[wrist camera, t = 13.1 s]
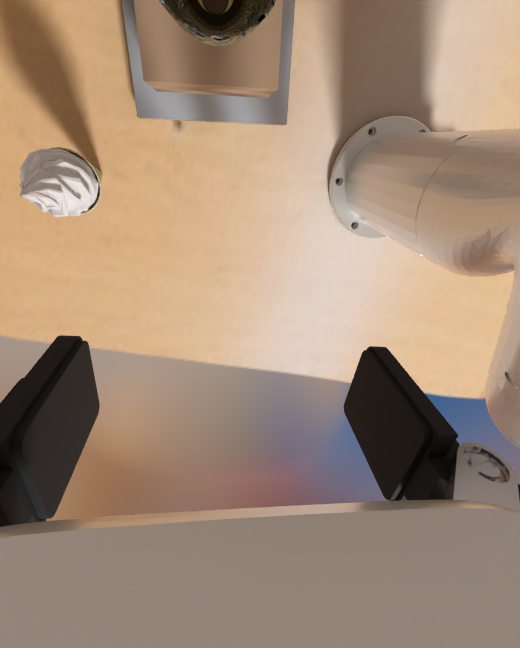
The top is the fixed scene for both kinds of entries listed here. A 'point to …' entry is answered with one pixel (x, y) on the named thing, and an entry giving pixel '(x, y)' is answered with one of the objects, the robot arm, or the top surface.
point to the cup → (219, 19)
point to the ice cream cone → (60, 182)
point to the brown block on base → (209, 67)
